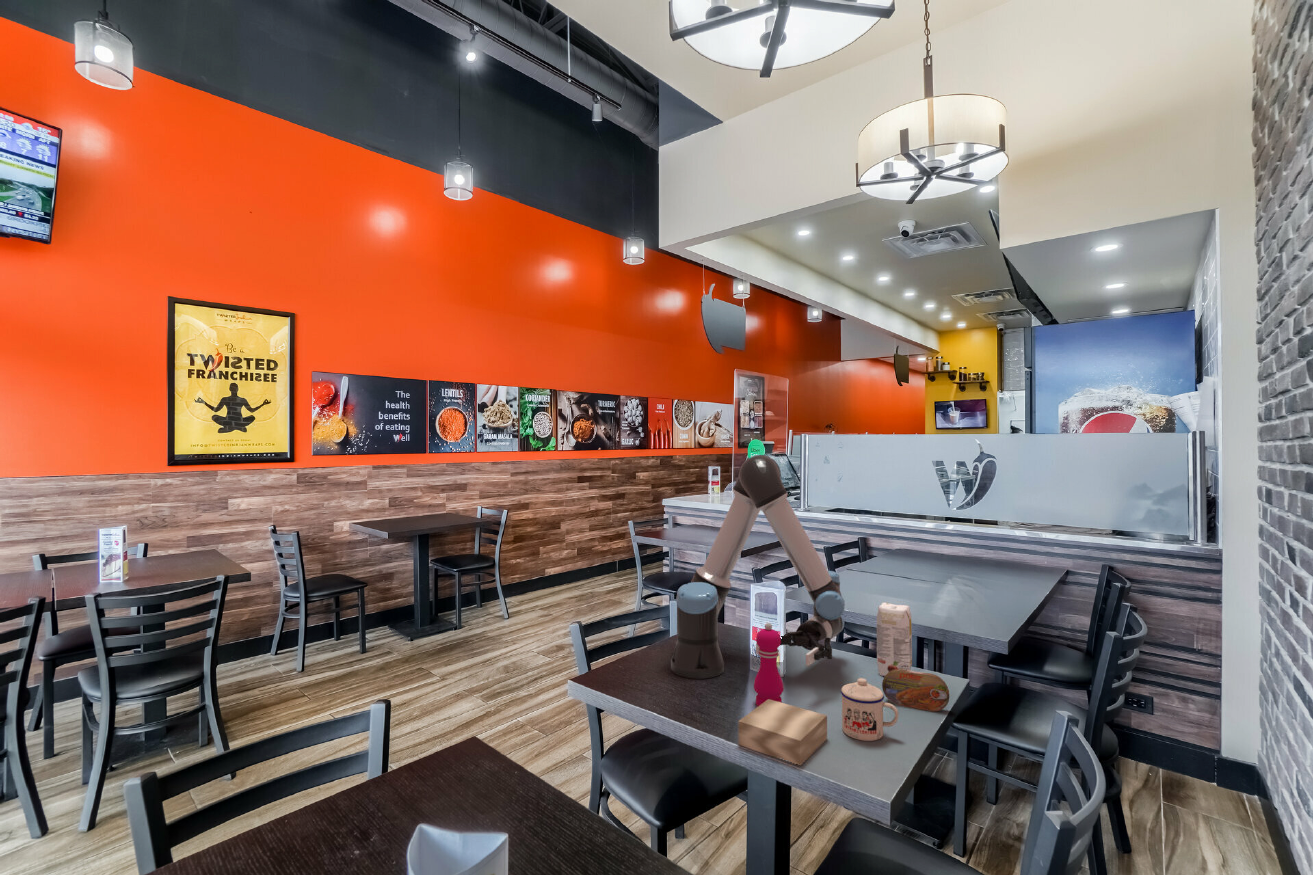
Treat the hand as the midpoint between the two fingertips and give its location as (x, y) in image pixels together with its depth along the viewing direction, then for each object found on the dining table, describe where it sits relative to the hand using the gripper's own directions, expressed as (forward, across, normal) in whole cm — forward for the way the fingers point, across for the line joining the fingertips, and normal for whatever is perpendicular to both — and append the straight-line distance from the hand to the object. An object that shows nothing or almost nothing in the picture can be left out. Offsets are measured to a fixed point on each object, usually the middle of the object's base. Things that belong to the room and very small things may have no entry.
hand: (781, 654), depth 151 cm
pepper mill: (+6, +1, -11) cm, 13 cm away
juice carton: (-33, -18, -11) cm, 40 cm away
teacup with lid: (+6, -24, -11) cm, 27 cm away
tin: (-15, -28, -11) cm, 34 cm away
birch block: (+21, -10, -11) cm, 25 cm away
